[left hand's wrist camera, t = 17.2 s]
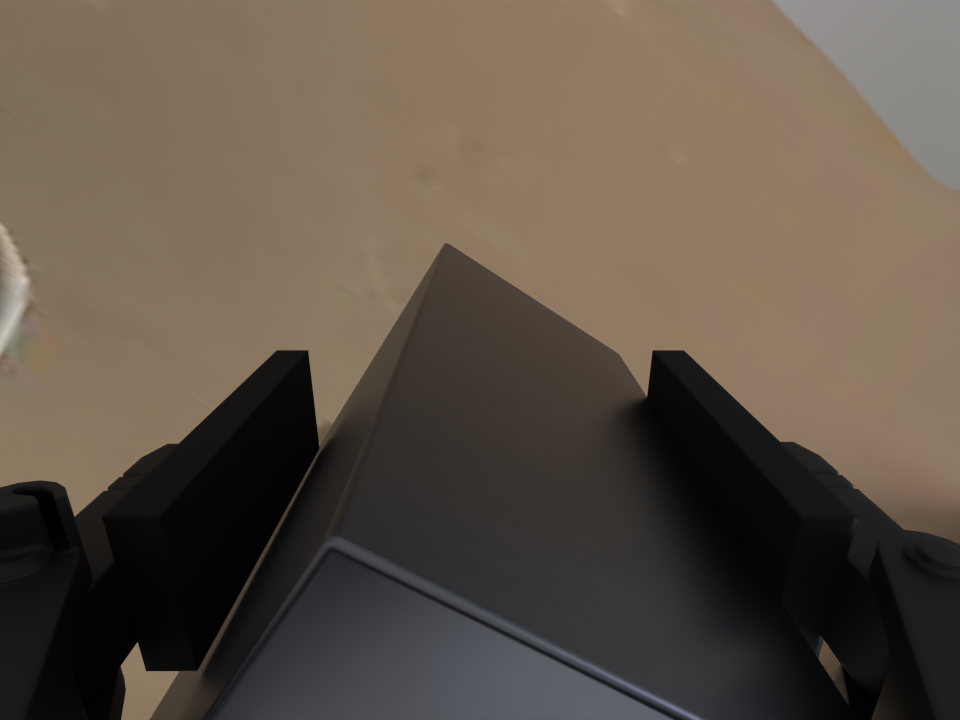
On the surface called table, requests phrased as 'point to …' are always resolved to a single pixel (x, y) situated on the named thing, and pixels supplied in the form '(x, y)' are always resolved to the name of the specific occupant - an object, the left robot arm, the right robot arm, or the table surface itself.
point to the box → (502, 548)
